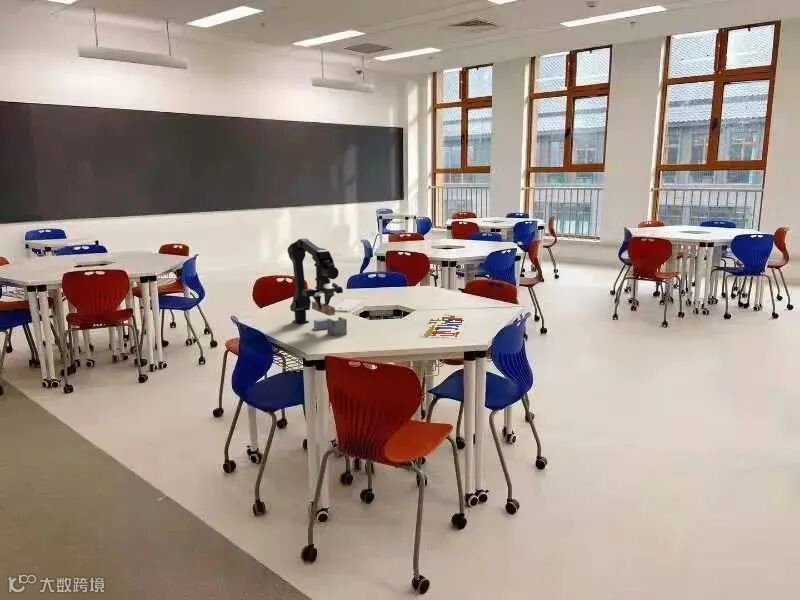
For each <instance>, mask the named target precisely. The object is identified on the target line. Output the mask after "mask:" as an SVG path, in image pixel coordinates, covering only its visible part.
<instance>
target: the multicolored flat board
mask: <svg viewBox="0 0 800 600" xmlns="http://www.w3.org/2000/svg"><path fill="white" fill-rule="evenodd" d="M445 315H446V316H447V315H448V316H450V317H442V321H445V323H441V324H447V323H462V321H464V320H462V319H463V318H455V316H456V315H450V314H447V313H446V314H444V316H445ZM444 319H448V320H444ZM453 320H455V321H461V322H450V321H453ZM430 321H441V320H439V318H438V319H437V320H433V319H432V318H430V320H429V322H428V323H427V325H428V324H431V323H434V324H436V323H437V322H430ZM458 325H462V324H447V325H437V326H456V327H459V326H458ZM434 326H435V325H432V327H429V328H430V329H428V331H426V333H425V334H424V336H426V337H425V338H427V337H428V336H436V334H453V335H440V336H454V335H455V334H456V335H455V337H457V335H458V334H459V333H460V332H456V333H445V332H451V331H437V330H439V329H455V330H458V328H452V327H436V328H435V327H434ZM434 328H435V329H434ZM433 330H436V331H433ZM431 334H433V335H431Z"/></svg>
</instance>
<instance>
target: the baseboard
mask: <svg viewBox="0 0 800 600" xmlns="http://www.w3.org/2000/svg"><path fill="white" fill-rule="evenodd" d="M361 302H362V303H363V302H364V300H362V299H353V298H352V299H349V298H347V299H345V300H343V301H342V302H340V303H339V304H337V305H335V306H334V307H335V311H339V312H338V313H351V311H353V310H354V309H355V308H357V307H358V306H359V305H360V304H362V303H361ZM357 305H358V306H357ZM356 306H357V307H356ZM352 309H353V310H352Z"/></svg>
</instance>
